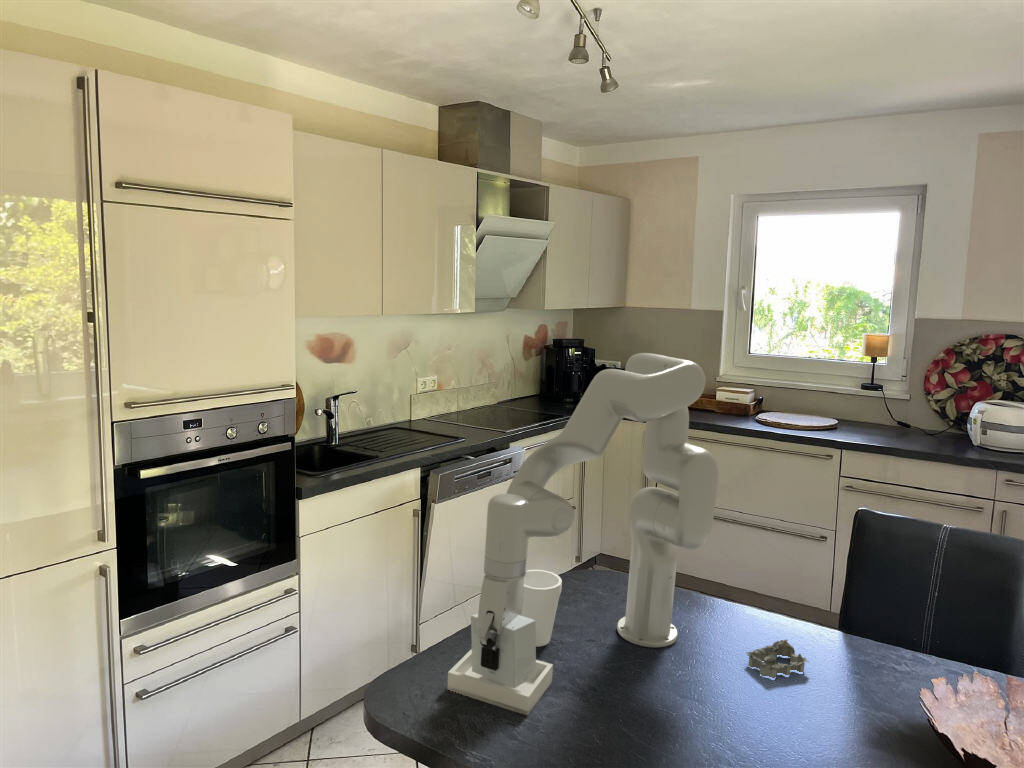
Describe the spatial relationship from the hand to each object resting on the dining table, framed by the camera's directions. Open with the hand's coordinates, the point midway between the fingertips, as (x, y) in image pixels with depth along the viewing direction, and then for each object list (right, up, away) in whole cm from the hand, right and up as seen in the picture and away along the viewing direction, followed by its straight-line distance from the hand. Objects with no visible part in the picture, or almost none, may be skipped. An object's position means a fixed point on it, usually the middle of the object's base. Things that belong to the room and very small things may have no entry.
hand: (499, 656), depth 133 cm
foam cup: (+7, -3, +19) cm, 20 cm away
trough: (0, -6, +1) cm, 6 cm away
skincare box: (+1, -3, 0) cm, 3 cm away
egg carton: (+54, -7, +12) cm, 56 cm away
